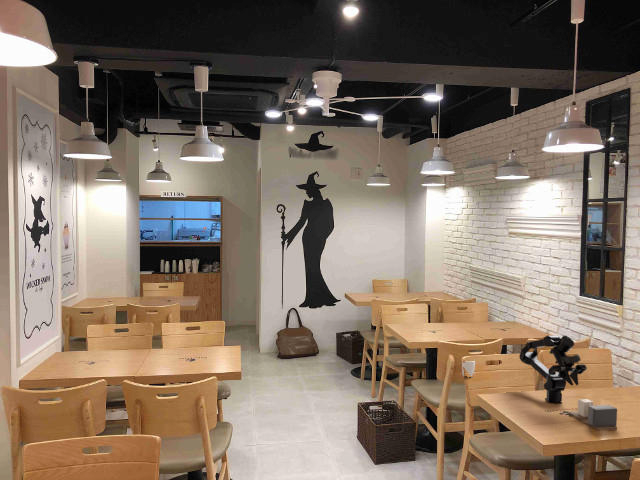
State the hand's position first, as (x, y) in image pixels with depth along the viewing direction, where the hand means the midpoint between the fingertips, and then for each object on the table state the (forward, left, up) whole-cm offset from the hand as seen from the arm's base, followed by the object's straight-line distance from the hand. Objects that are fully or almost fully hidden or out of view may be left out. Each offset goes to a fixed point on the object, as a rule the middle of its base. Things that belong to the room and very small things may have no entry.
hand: (575, 385), depth 253 cm
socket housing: (+5, -18, -12) cm, 22 cm away
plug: (+2, -9, -12) cm, 15 cm away
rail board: (+3, -11, -14) cm, 18 cm away
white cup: (-39, +55, -14) cm, 69 cm away
